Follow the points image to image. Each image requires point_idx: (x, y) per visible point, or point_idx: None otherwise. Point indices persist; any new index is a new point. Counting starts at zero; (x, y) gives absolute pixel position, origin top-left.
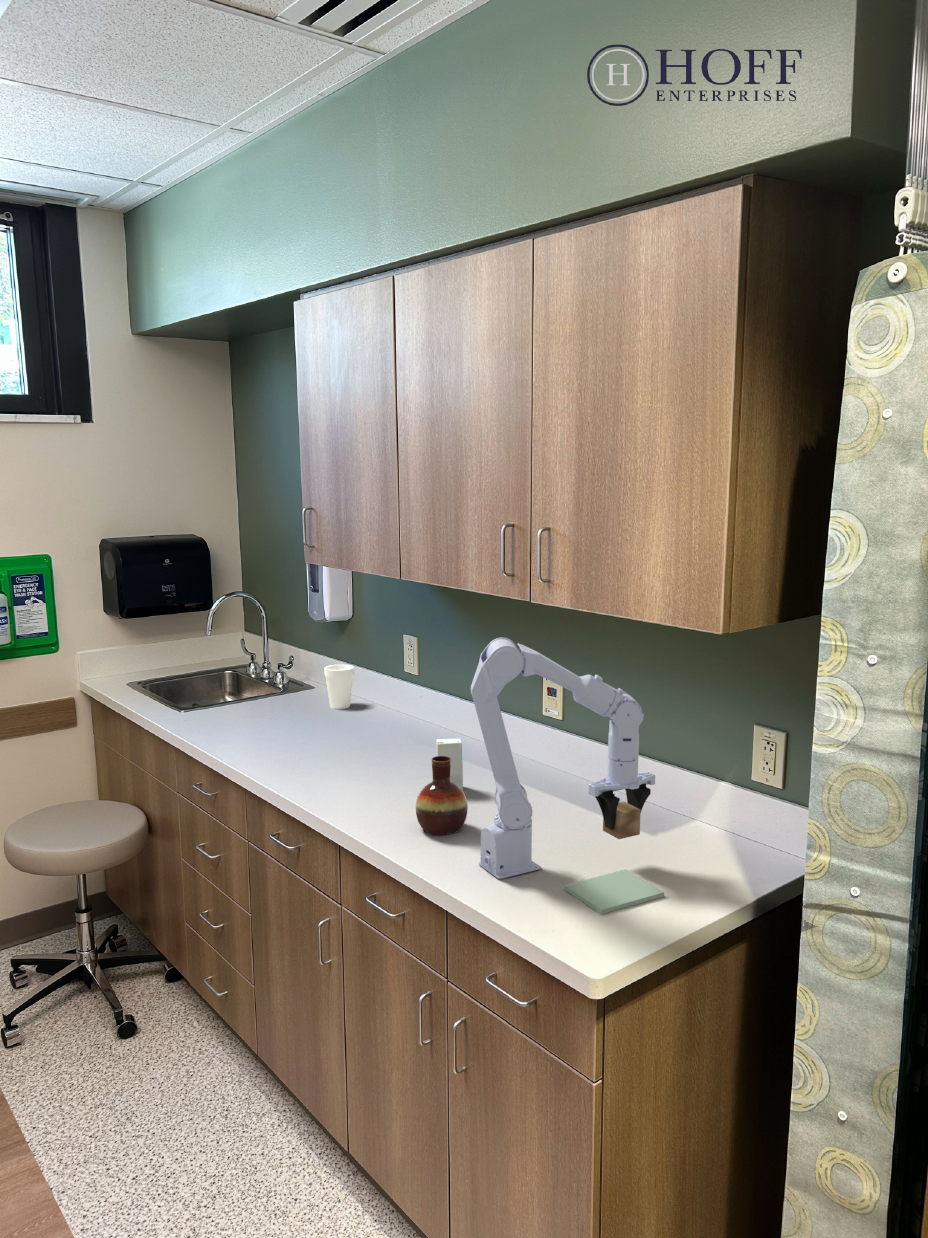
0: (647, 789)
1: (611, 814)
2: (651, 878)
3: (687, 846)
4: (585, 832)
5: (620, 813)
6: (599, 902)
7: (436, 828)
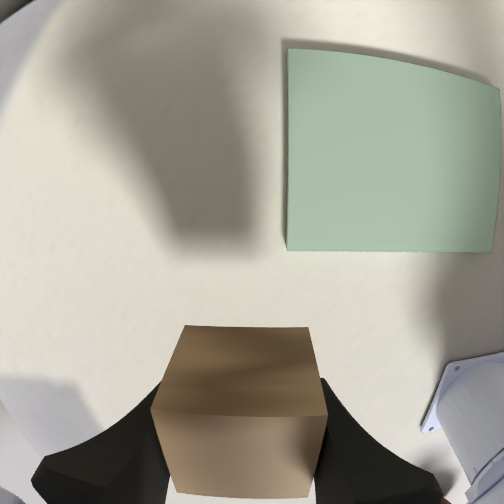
0: (50, 493)
1: (361, 429)
2: (233, 174)
3: (27, 297)
4: None
5: (314, 421)
6: (486, 119)
7: (447, 501)
